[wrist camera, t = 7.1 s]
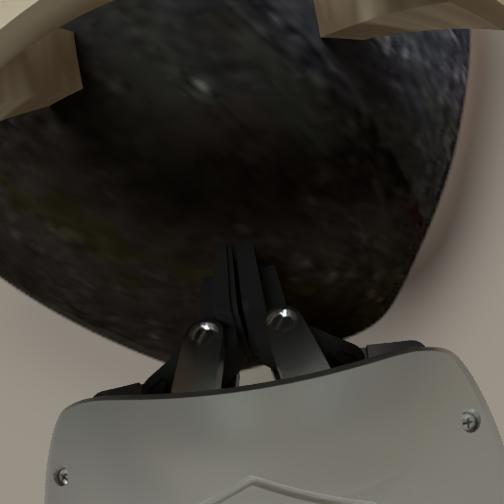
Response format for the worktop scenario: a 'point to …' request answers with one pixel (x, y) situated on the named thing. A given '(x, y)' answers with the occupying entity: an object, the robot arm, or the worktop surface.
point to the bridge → (77, 3)
